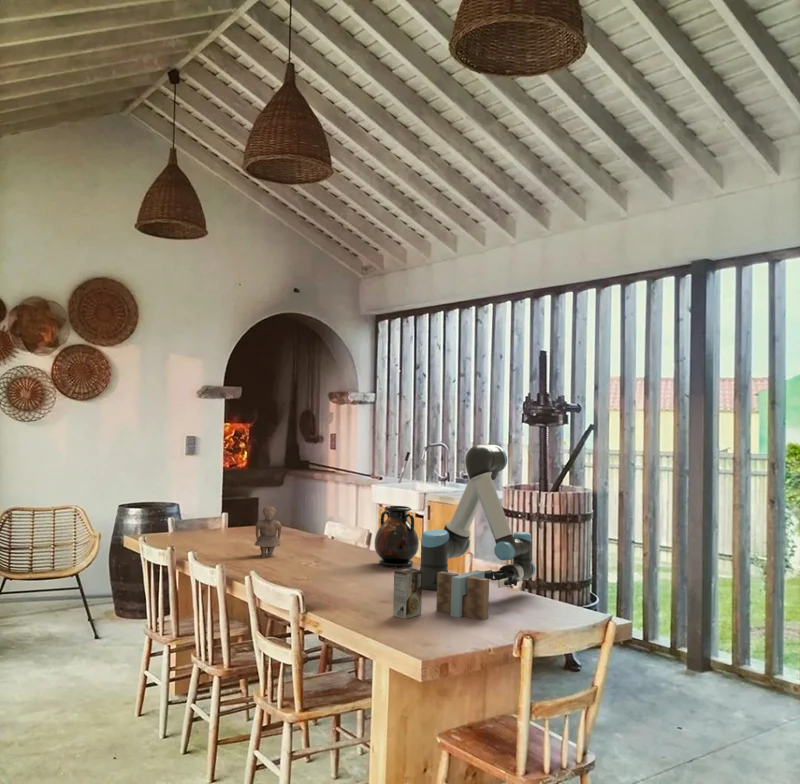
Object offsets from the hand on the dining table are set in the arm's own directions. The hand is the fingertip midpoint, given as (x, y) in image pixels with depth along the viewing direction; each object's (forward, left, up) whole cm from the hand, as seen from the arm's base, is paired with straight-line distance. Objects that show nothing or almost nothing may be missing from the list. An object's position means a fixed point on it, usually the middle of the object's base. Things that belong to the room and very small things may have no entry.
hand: (483, 581), depth 303 cm
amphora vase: (-74, +45, -10) cm, 87 cm away
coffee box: (-14, -31, -10) cm, 35 cm away
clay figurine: (-134, +18, -10) cm, 135 cm away
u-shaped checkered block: (0, -16, -10) cm, 18 cm away
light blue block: (0, -12, -10) cm, 15 cm away
